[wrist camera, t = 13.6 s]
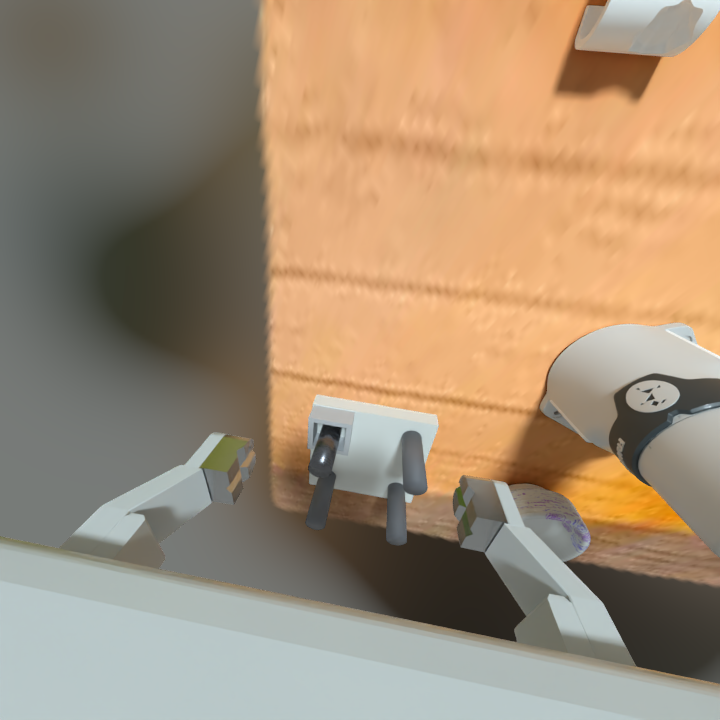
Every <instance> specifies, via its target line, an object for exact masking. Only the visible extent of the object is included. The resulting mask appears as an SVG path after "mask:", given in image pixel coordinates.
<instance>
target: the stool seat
mask: <svg viewBox="0 0 720 720" xmlns="http://www.w3.org/2000/svg"><path fill="white" fill-rule="evenodd" d="M323 424H325V425H331V426H337V427H342V432H341V436H340V440H339V444H338V448H337V452H336V456H335V460H334V464H333V468H332V472H331V475H330V476H328V477H326V478H319V477H316V476H314V475H312V474H311V473H310V474H309V484H312V485H316V487H315V491H314V494H313V498H312V501H311V504H310V508H309V511H308V515H307V519H306V522H305V523H306V525H307V526H308V527H310V528H312V529H315V530H321V529H323V528H325V525H326V520H327V516H328V511H329V507H330V502H331V498H332V493H333V489H339V490H344V491H350V492H355V493H360V494H366V495H371V496H376V497H382V498H387V529H386V540H387V541H388V542H389V543H390V544H393V545H403V544H405V543H406V542H407V531H406V503H405V502H409V503H411V501H412V498H413V496H414V495H421V494H424V493H425V492H426V491H427V479H426V471H425V462H426V460H427V457H428V454H429V451H430V449H431V446H432V443H433V440H434V438H435V435H436V432H437V429H438V427H439V424H438V419H437V415H433V414H428V413H422V412H416V411H410V410H404V409H399V408H393V407H387V406H381V405H375V404H370V403H364V402H358V401H352V400H347V399H341V398H335V397H329V396H323V395H318V394H317V395H316V397H315V400H314V402H313V408H312V411H311V413H310V416H309V422H308V447H307V449H311V453H310V460H311V458H312V455H313V452H314V449H315V446H316V443H317V440H318V437H319V434H320V431H321V428H322V426H323Z"/></svg>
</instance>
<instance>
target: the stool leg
mask: <svg viewBox="0 0 720 720" xmlns="http://www.w3.org/2000/svg"><path fill="white" fill-rule="evenodd" d="M341 432H342V427H337V426H331V425H325V424H323V426H322V428H321V431H320V434H319V437H318V440H317V443H316V446H315V449H314V452H313V455H312V458H311V460H310V463H309V466H308V470H309V472H310V473H311V474H312V475H314V476H316V477H319V478H326V477H328V476H330V475H331V472H332V468H333V464H334V460H335V456H336V452H337V448H338V444H339V440H340V436H341Z"/></svg>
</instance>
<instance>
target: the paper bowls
mask: <svg viewBox="0 0 720 720" xmlns="http://www.w3.org/2000/svg"><path fill="white" fill-rule="evenodd" d="M508 487H509V489H510V492H511V494H512V497H513V499H514V501H515V504H516V506H517V509H518V511H519V513H520V516H521V518H522V521H523V523H524V526H525V527H528V528H530V529H531V530H532V531H533V532H534V533H535V534H536V535H537V536H538V537H539V538H540V539H541V540H542V541H543V542H544V543H545V544H546V545H547V546H548V547H549V548H550V549H551V550H552V551H553V552H554V554H555V555H556V556H557V557H558V558H559V559H560V560H561V561H562V562H565V561H568V560H571V559H573V558H575V557H577V556H579V555H580V554H582V553H583V552H584V551H585V550H586V549H587V548H588V546H589V544H590V533H589V531H588V529H587V527H586V525H585V524H584V522H583V521H582V519H581V517H580V515H579V513H578V512H577V510H576V508H575V507H574V505H573V504H572V503H571V502H570V500H569V499H567V498H566V497H564V496H563V495H561V494H559V493H556V492H553V491H550V490H546V489H544V488H542V487H540V486H537V485H533V484H514V485H510V486H508Z"/></svg>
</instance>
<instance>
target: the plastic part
mask: <svg viewBox="0 0 720 720" xmlns="http://www.w3.org/2000/svg"><path fill="white" fill-rule="evenodd" d="M719 11H720V0H608V1H607V3H606V5H605V6H594V5H588V6H587V7H586V9H585V12H584V15H583V18H582V21H581V24H580V27H579V30H578V33H577V36H576V39H575V49H576V50H586V51H599V52H612V53H625V54H637V55H650V56H662V57H673V56H676V55H678V54H680V53H681V52H683V51H684V50H686V49H687V48H688V47H689V46H690V45H691V44H692V43H694V42H695V41H696V40H697V38H698V37H699V36H700V35H701V34H702V33H703V32H704V31H705V29H706V28H707V27H708V26H709V24H710V23H711V22H712V21H713V19H714V18H715V16H716V15H717V14H718V12H719Z"/></svg>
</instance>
